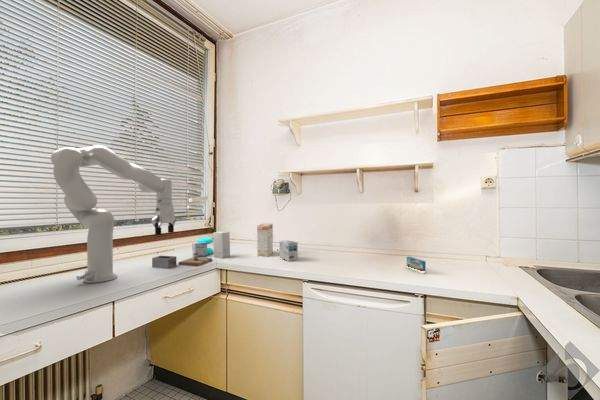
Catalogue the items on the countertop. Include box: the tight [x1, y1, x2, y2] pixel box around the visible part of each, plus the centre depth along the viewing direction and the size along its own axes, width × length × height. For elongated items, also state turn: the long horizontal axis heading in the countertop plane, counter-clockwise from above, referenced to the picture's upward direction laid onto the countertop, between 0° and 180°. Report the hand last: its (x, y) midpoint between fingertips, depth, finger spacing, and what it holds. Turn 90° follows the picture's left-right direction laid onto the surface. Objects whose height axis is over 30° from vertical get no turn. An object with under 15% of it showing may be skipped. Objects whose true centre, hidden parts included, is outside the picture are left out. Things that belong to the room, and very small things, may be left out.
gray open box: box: [151, 255, 177, 269], centre depth 157 cm, size 6×10×5 cm, turn 75°
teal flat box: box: [406, 256, 426, 272], centre depth 148 cm, size 12×2×6 cm, turn 18°
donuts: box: [196, 237, 214, 256], centre depth 192 cm, size 10×10×10 cm
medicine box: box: [191, 242, 208, 258], centre depth 183 cm, size 8×4×9 cm, turn 131°
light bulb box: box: [279, 239, 299, 262], centre depth 175 cm, size 11×7×11 cm, turn 35°
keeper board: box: [178, 253, 213, 267], centre depth 165 cm, size 14×12×6 cm
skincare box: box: [212, 230, 231, 259], centre depth 181 cm, size 8×7×16 cm
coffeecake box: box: [256, 222, 274, 257], centre depth 190 cm, size 15×7×20 cm, turn 172°
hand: (164, 233), depth 157 cm, fingers open, 9 cm apart
